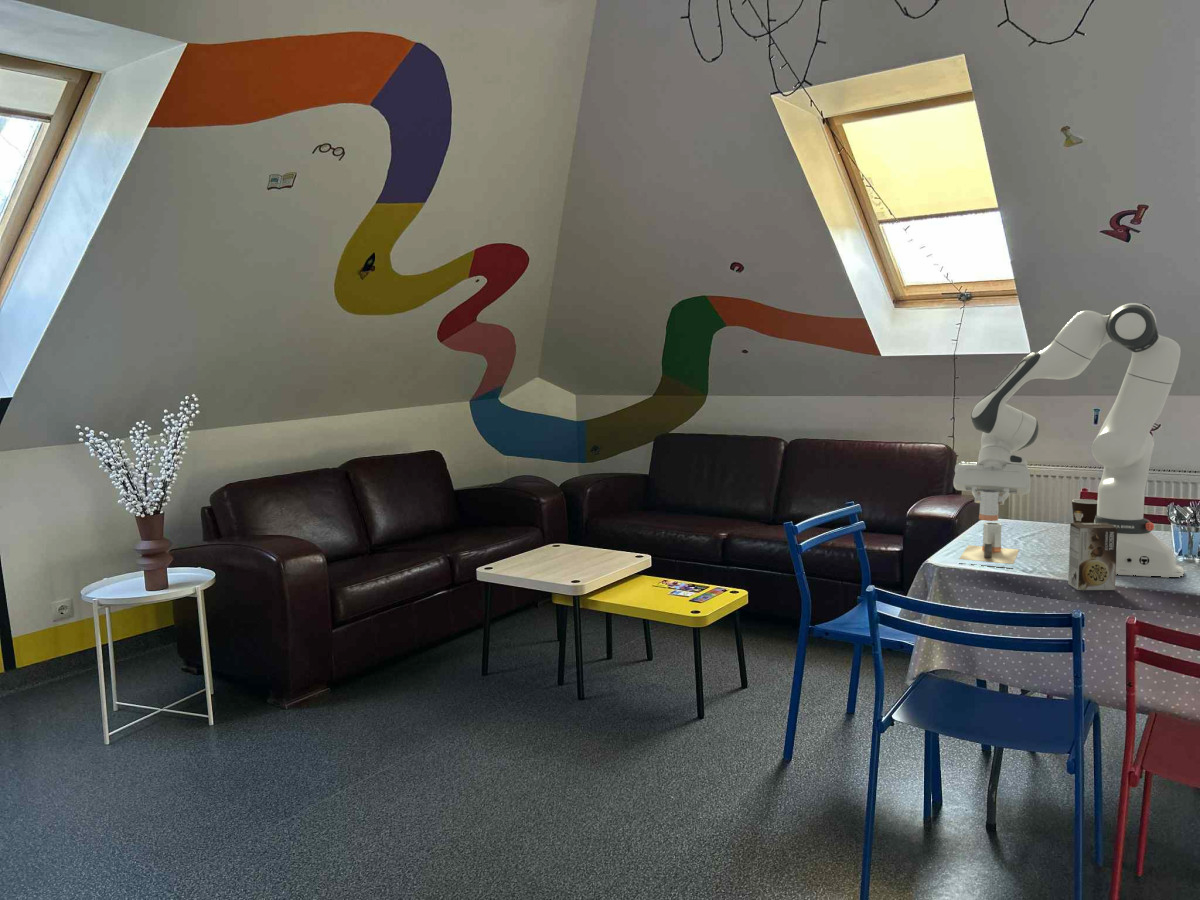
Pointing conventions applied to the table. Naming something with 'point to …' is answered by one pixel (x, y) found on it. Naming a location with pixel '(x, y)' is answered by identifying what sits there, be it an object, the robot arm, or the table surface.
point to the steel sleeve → (989, 505)
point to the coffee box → (1092, 556)
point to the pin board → (998, 558)
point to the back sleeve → (992, 535)
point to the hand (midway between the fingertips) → (989, 502)
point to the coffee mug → (1084, 510)
